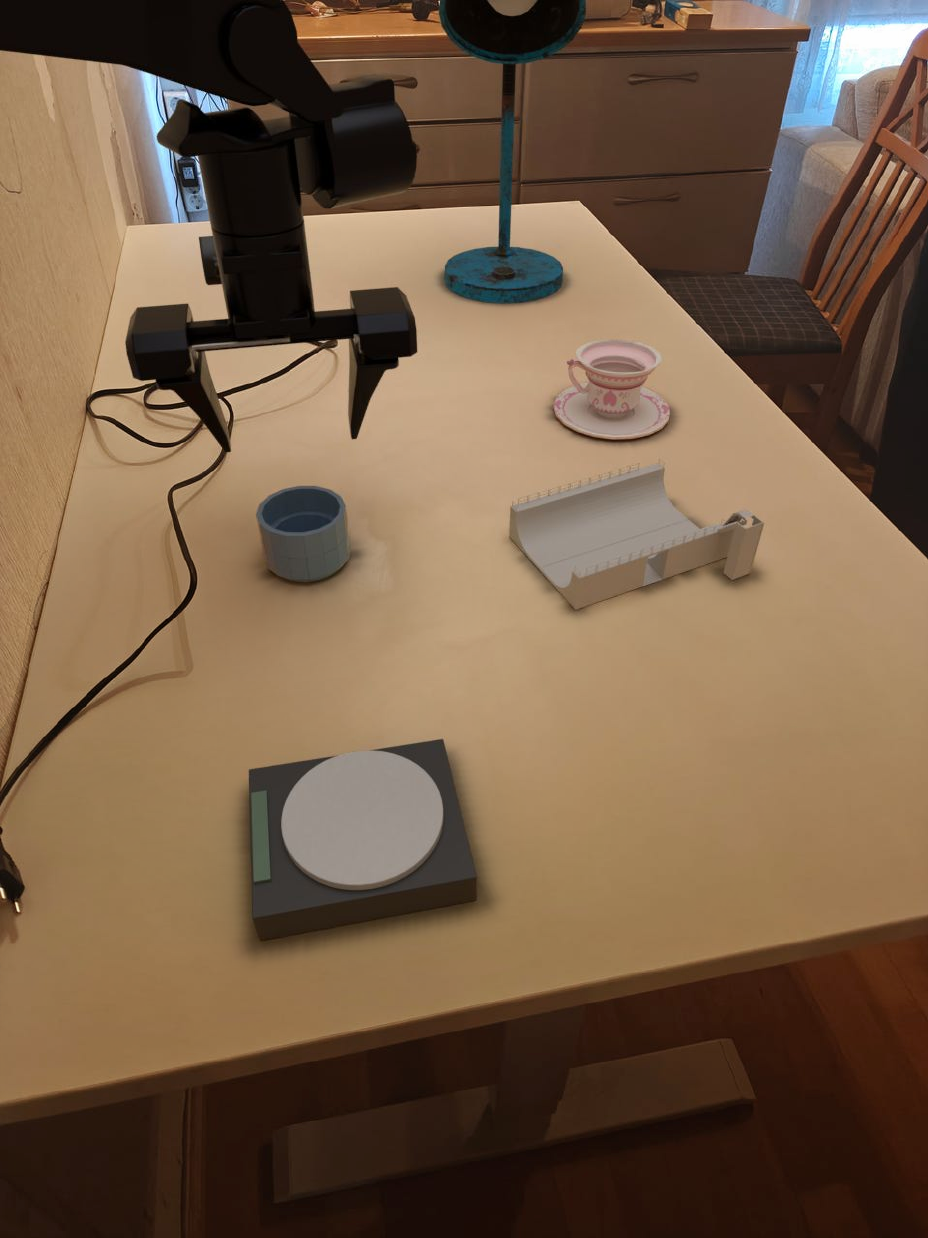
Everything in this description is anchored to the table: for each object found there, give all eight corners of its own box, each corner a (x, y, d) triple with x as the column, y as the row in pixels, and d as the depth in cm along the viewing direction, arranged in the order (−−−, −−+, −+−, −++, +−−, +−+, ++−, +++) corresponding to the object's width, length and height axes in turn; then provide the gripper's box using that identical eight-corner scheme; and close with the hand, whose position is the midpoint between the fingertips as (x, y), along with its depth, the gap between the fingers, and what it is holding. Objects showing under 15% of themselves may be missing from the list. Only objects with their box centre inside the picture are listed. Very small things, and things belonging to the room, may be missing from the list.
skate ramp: (653, 492, 79) (661, 443, 76) (750, 574, 70) (764, 522, 67) (509, 536, 74) (511, 486, 71) (594, 630, 65) (601, 577, 62)
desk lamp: (438, 318, 108) (429, -169, 78) (447, 255, 125) (442, -167, 95) (567, 319, 108) (607, -169, 78) (559, 257, 124) (590, -167, 94)
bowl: (249, 573, 71) (239, 522, 67) (294, 527, 75) (287, 478, 72) (323, 595, 68) (316, 544, 65) (365, 546, 73) (360, 496, 70)
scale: (259, 941, 47) (250, 912, 45) (254, 793, 54) (246, 762, 52) (476, 900, 49) (477, 871, 47) (443, 762, 56) (443, 731, 54)
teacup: (664, 387, 94) (673, 332, 90) (674, 444, 86) (685, 386, 81) (553, 383, 95) (557, 328, 91) (552, 439, 86) (557, 381, 82)
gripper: (389, 176, 61) (400, 381, 72) (114, 193, 59) (167, 403, 69) (413, 227, 53) (422, 451, 64) (95, 249, 50) (159, 479, 61)
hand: (291, 442), depth 64 cm, fingers open, 9 cm apart
